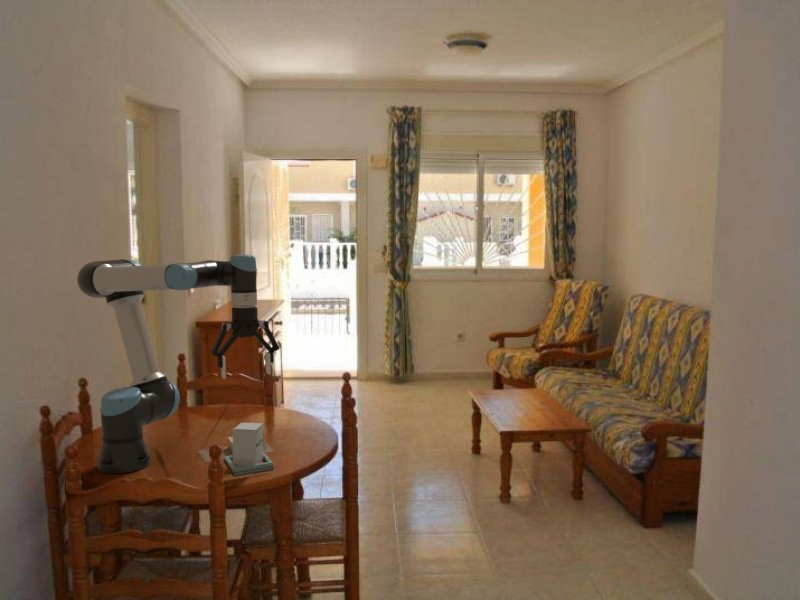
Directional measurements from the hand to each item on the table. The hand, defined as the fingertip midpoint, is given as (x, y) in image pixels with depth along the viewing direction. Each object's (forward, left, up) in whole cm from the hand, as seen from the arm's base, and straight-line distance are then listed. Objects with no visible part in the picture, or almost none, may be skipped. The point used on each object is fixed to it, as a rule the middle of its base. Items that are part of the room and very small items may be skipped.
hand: (246, 375), depth 202 cm
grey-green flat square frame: (0, 0, -29) cm, 29 cm away
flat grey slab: (-1, +13, -29) cm, 31 cm away
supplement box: (0, 0, -28) cm, 28 cm away
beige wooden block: (+1, +14, -27) cm, 30 cm away
